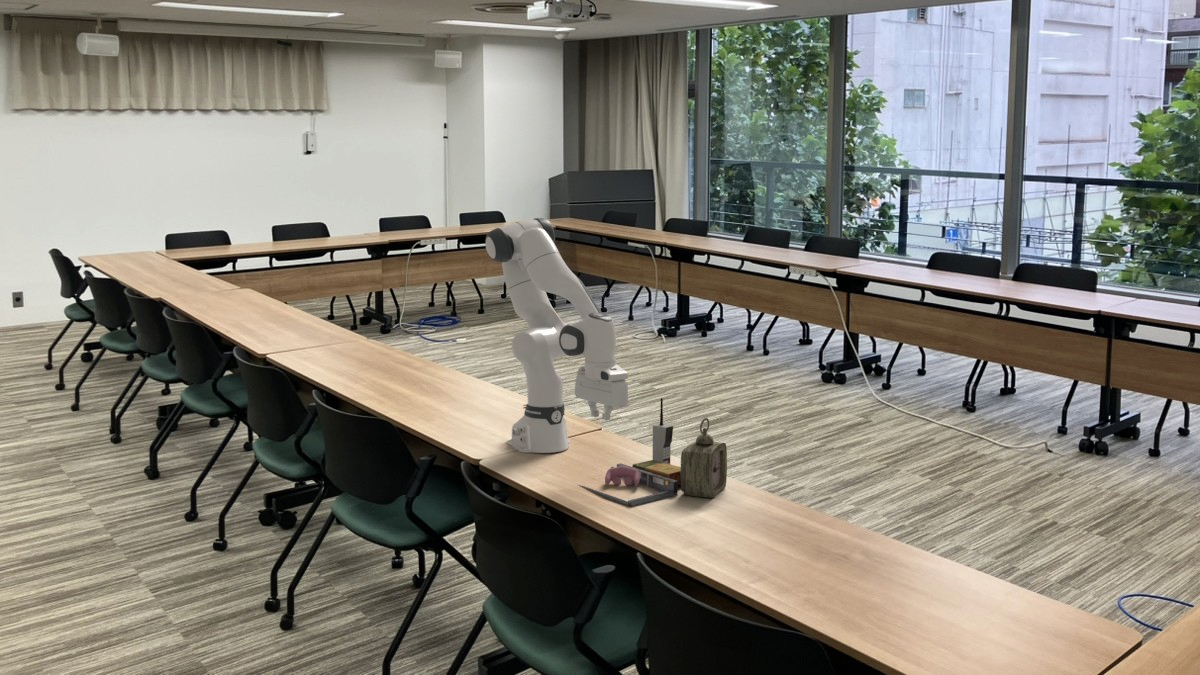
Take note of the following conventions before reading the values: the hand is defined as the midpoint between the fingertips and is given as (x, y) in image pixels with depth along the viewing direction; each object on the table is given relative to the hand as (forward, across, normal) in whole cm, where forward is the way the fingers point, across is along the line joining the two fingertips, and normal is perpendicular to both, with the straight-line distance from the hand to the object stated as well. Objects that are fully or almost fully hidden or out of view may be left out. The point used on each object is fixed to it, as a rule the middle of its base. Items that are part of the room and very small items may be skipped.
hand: (600, 418), depth 294 cm
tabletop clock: (+23, +25, +17) cm, 38 cm away
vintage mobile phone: (+22, +1, +23) cm, 32 cm away
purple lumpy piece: (+18, +10, 0) cm, 21 cm away
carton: (+21, +16, +14) cm, 30 cm away
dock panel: (+19, +10, 0) cm, 22 cm away
